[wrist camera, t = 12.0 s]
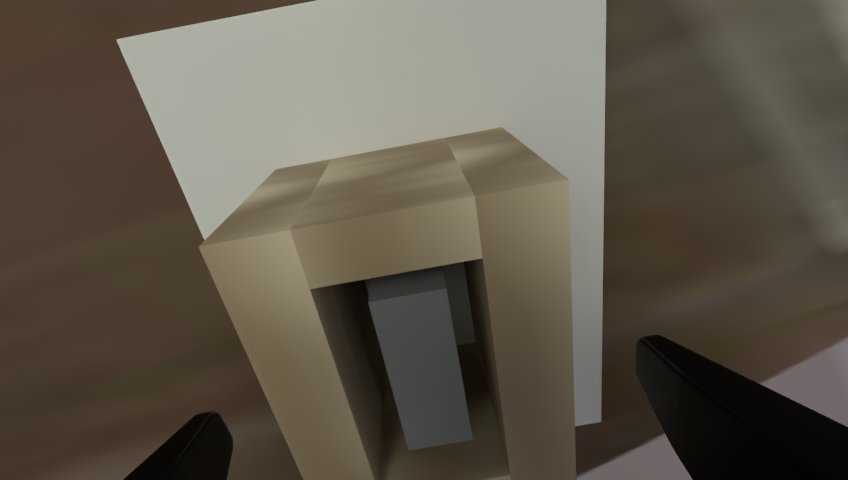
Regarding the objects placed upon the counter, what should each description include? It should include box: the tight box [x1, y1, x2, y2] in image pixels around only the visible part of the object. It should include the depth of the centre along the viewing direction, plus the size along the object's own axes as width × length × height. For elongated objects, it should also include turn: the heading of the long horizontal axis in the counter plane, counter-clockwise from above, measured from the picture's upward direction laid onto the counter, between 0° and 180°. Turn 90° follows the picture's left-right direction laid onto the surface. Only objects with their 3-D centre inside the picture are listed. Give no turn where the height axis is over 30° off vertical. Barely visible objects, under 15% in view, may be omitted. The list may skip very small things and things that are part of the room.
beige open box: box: [199, 127, 576, 480], centre depth 11 cm, size 6×8×5 cm
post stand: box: [116, 0, 606, 451], centre depth 12 cm, size 16×12×6 cm
